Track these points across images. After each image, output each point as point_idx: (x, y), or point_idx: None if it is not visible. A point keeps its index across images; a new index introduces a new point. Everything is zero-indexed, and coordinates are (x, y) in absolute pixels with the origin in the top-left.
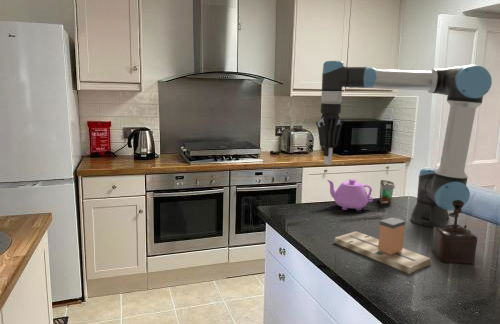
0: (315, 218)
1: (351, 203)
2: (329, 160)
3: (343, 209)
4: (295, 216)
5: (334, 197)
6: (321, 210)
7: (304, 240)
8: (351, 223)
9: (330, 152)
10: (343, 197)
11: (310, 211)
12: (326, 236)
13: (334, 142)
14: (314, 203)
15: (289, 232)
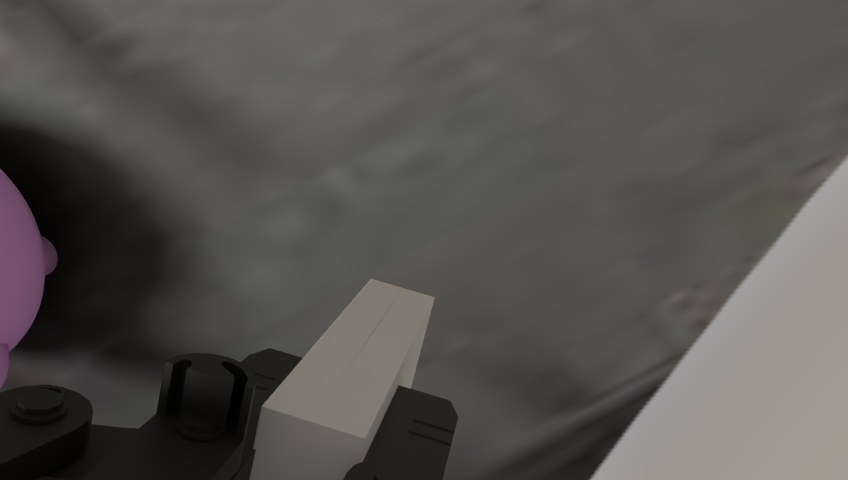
0: None
1: (13, 201)
2: (416, 320)
3: (49, 255)
4: None
5: (8, 353)
6: None
7: (784, 173)
8: (258, 83)
9: (364, 378)
10: (2, 275)
11: None
12: (614, 94)
13: (100, 468)
14: None
15: (707, 325)
